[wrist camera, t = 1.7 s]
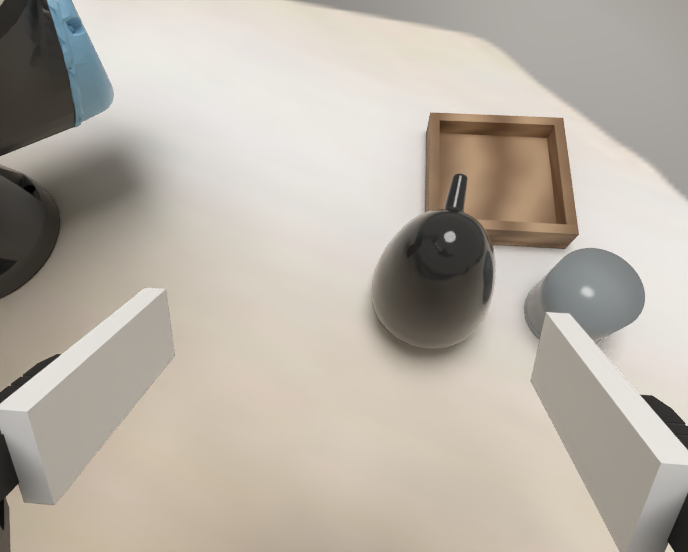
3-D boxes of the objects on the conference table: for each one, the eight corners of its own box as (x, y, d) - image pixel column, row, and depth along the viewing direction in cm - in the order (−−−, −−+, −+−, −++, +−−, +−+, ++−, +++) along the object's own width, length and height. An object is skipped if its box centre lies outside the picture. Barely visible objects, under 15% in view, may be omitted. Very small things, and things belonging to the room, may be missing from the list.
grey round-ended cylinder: (526, 348, 41) (558, 326, 34) (521, 278, 43) (549, 245, 37) (605, 353, 40) (652, 332, 34) (595, 282, 43) (636, 250, 37)
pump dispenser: (483, 267, 44) (540, 175, 30) (470, 369, 40) (528, 319, 26) (382, 247, 45) (391, 150, 31) (360, 344, 41) (359, 284, 27)
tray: (424, 240, 45) (428, 225, 43) (426, 131, 51) (430, 112, 48) (565, 248, 44) (578, 234, 42) (551, 137, 50) (563, 117, 47)
